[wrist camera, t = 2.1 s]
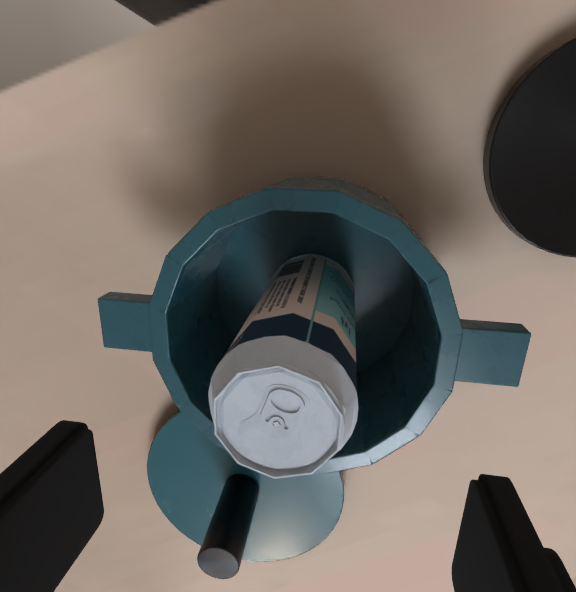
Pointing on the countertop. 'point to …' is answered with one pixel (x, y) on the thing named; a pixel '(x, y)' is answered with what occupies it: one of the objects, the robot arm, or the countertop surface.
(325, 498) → the lid
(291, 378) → the beer can
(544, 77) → the black plate
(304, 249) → the pot
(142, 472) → the countertop surface
